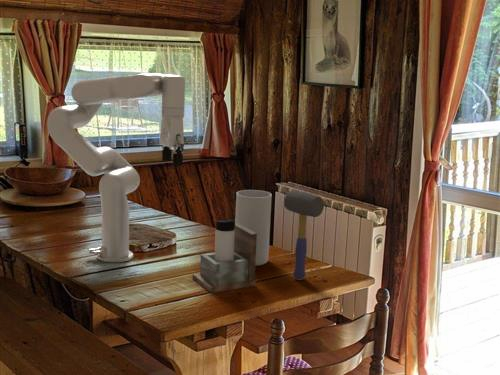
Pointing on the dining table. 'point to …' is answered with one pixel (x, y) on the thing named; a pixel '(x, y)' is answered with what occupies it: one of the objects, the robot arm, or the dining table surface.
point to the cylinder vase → (255, 219)
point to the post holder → (230, 265)
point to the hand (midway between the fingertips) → (172, 163)
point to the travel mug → (224, 240)
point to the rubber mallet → (302, 223)
